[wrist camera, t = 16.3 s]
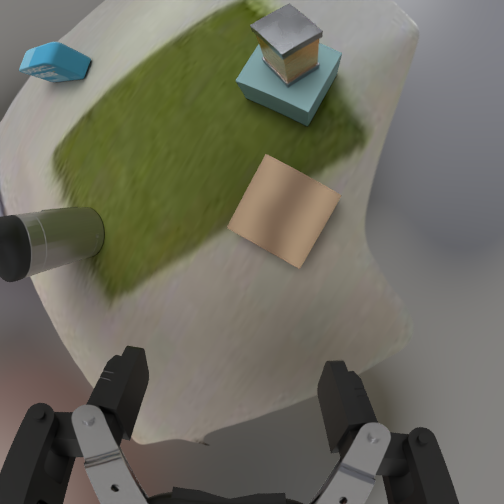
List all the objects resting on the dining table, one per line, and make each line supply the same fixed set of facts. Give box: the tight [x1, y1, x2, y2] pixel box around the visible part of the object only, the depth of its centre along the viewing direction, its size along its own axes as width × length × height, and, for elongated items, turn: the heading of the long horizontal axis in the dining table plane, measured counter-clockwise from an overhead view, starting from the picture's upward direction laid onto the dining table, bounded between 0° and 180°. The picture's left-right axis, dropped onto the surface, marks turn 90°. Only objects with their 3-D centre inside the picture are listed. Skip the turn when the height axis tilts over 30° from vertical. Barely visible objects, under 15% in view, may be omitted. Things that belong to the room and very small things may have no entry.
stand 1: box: [236, 43, 342, 127], centre depth 33 cm, size 10×10×7 cm
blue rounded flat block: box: [19, 42, 91, 82], centre depth 36 cm, size 12×4×12 cm, turn 76°
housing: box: [250, 3, 323, 88], centre depth 25 cm, size 5×5×9 cm
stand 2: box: [227, 154, 342, 269], centre depth 37 cm, size 10×10×7 cm
